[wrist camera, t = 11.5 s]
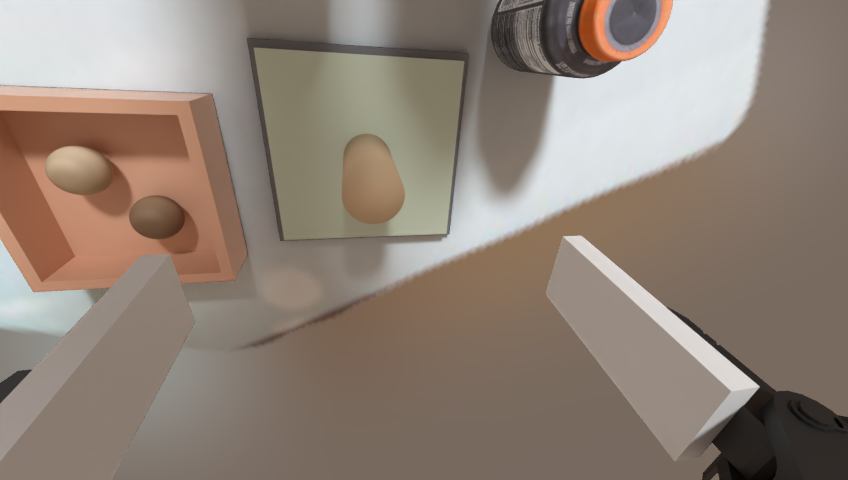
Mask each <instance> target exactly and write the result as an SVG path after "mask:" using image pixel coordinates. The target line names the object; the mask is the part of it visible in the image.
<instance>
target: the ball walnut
mask: <svg viewBox="0 0 848 480" xmlns="http://www.w3.org/2000/svg"><path fill="white" fill-rule="evenodd" d="M129 220H130V223H131V225H132V227H133V228H134V230H135V231H136V232H138V233H139V234H140V235H142V236H144V237H147V238H151V239H166V238H169V237H172V236H174V235H175V234H177V233H178V232H179V231H180V230H181V229H182V227H183V225H184V222H185V214H184V211H183V209H182V208H181V206H180V205H179V204H178V203H177V202H176V201H174V200H172V199H170V198H168V197H165V196H159V195H153V196H147V197H144V198H142V199H140V200H138V201H137V202H136V203H135V204H134V205H133V206H132V208H131V210H130V213H129Z"/></svg>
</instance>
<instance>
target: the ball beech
mask: <svg viewBox="0 0 848 480" xmlns="http://www.w3.org/2000/svg"><path fill="white" fill-rule="evenodd" d="M45 171H46V175H47V177H48V178H49V180H50V181H51V182H52V183H53V184H54V185H55V186H57V187H58V188H60V189H61V190H63V191H66V192H68V193H71V194H76V195H93V194H97V193H99V192H102V191H104V190H105V189H106V188H108V187H109V186H110V184H111V183H112V181H113V178H114V170H113V167H112V165H111V163H110V162H109V160H108V159H107V158H106V157H105V156H104V155H102V154H101V153H99V152H98V151H96V150H94V149H91V148H88V147H83V146H66V147H62V148H59V149H57V150H55V151H54V152H52V153H51V154H50V155H49V156H48V158H47V160H46V163H45Z"/></svg>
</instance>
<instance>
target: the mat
mask: <svg viewBox="0 0 848 480" xmlns="http://www.w3.org/2000/svg"><path fill="white" fill-rule="evenodd" d="M247 42H248V48H249V54H250V60H251V66H252V72H253V78H254V84H255V90H256V96H257V102H258V108H259V114H260V120H261V126H262V132H263V138H264V144H265V150H266V157H267V163H268V169H269V175H270V181H271V187H272V193H273V199H274V205H275V211H276V217H277V223H278V229H279V235H280V241H288V240H284V236H283V230H282V223H281V217H280V211H279V204H278V198H277V192H276V185H275V179H274V173H273V167H272V160H271V154H270V148H269V141H268V135H267V129H266V122H265V116H264V110H263V104H262V97H261V91H260V85H259V78H258V72H257V66H256V60H255V53H254V48H270V49H285V50H301V51H316V52H332V53H347V54H363V55H378V56H394V57H409V58H425V59H440V60H456V61H464V70H463V79H462V89H461V99H460V108H459V118H458V128H457V137H456V147H455V157H454V166H453V176H452V185H451V195H450V205H449V214H448V224H447V234H449V231H450V222H451V213H452V203H453V194H454V185H455V175H456V166H457V157H458V148H459V138H460V129H461V120H462V110H463V101H464V92H465V83H466V73H467V64H468V55H469V53H456V52H442V51H427V50H413V49H399V48H384V47H370V46H355V45H341V44H326V43H312V42H297V41H283V40H268V39H254V38H247ZM431 235H443V234H431ZM404 236H417V235H404ZM378 237H391V236H378ZM352 238H365V237H352ZM326 239H339V238H326ZM300 240H313V239H300Z"/></svg>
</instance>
